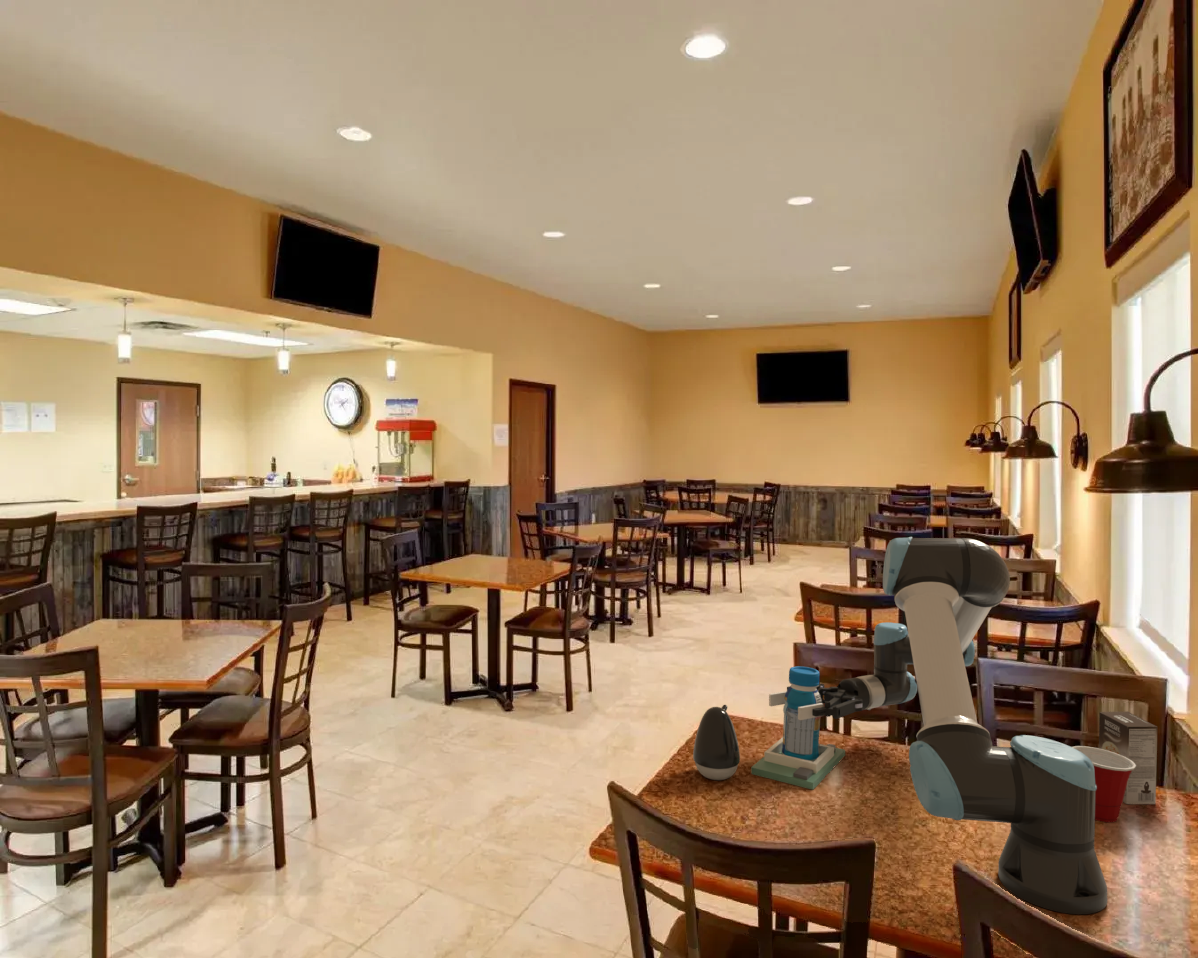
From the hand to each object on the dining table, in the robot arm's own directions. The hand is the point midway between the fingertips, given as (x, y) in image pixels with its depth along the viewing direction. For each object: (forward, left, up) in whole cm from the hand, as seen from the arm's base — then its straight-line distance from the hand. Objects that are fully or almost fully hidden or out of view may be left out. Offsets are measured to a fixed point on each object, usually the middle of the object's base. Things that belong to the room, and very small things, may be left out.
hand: (784, 706), depth 168 cm
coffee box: (+28, -63, -14) cm, 70 cm away
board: (+4, -2, -14) cm, 15 cm away
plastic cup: (+14, -59, -14) cm, 62 cm away
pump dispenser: (-12, +11, -14) cm, 22 cm away
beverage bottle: (+4, -2, -13) cm, 13 cm away
